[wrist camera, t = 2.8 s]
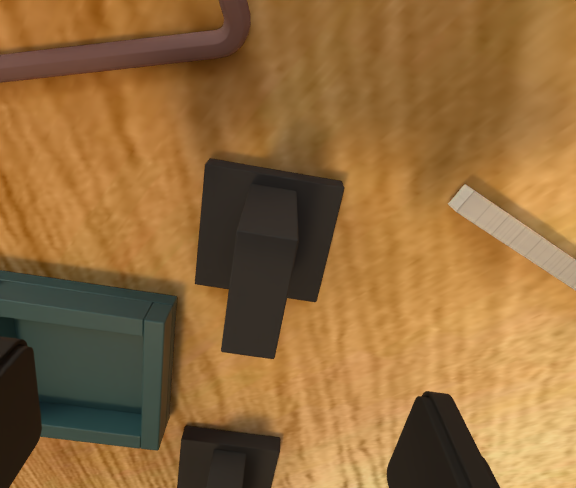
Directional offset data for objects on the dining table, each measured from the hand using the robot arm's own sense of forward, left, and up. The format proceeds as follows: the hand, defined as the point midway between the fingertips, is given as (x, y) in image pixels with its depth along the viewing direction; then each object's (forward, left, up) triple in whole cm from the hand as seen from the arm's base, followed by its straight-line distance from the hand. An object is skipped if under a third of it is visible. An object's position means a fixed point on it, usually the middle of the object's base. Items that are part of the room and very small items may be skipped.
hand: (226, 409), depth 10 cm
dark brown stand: (0, 0, -10) cm, 10 cm away
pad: (0, +17, -10) cm, 20 cm away
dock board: (+13, +9, -10) cm, 19 cm away
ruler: (-14, -1, -10) cm, 18 cm away
